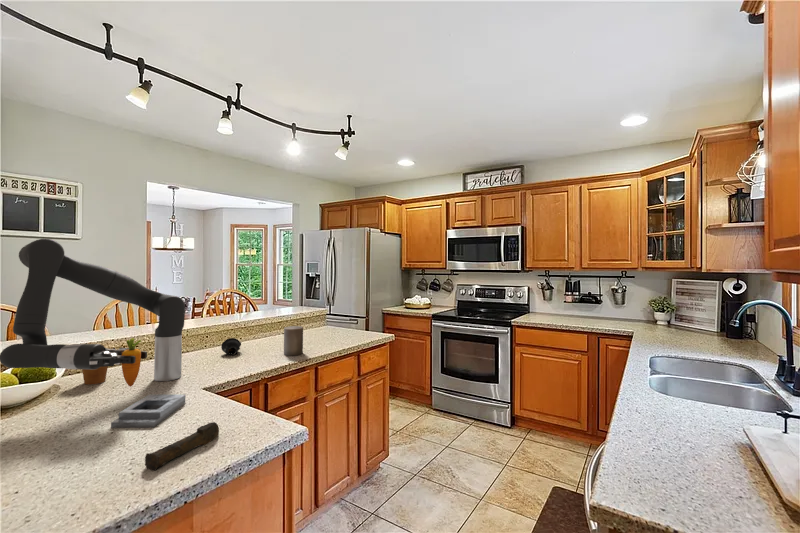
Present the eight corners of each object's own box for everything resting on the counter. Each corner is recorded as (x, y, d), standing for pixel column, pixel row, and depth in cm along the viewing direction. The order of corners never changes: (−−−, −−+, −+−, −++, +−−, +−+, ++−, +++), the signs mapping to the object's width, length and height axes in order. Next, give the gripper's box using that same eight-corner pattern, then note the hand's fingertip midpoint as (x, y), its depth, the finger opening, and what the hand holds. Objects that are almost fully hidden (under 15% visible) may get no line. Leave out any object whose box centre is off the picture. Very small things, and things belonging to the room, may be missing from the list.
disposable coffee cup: (92, 387, 136) (93, 354, 136) (71, 384, 138) (72, 352, 138) (117, 379, 145) (117, 348, 145) (97, 377, 147) (97, 347, 147)
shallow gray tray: (149, 403, 122) (149, 394, 122) (185, 403, 123) (185, 394, 123) (110, 427, 104) (111, 417, 104) (153, 427, 105) (153, 417, 105)
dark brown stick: (154, 474, 83) (154, 453, 83) (143, 469, 85) (143, 449, 85) (225, 438, 101) (226, 421, 100) (215, 435, 102) (215, 418, 102)
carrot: (127, 383, 115) (128, 335, 115) (144, 383, 116) (145, 336, 116) (116, 389, 111) (117, 339, 110) (134, 389, 111) (135, 339, 111)
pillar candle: (306, 353, 194) (307, 324, 194) (292, 356, 186) (292, 327, 186) (294, 350, 199) (294, 322, 199) (279, 354, 191) (279, 325, 191)
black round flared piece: (219, 348, 180) (216, 330, 195) (228, 365, 185) (224, 347, 200) (238, 340, 184) (234, 323, 198) (246, 357, 189) (242, 339, 203)
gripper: (62, 349, 105) (125, 350, 106) (99, 339, 119) (154, 340, 120) (61, 376, 105) (124, 376, 106) (99, 362, 119) (154, 363, 120)
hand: (140, 357), depth 113 cm, fingers closed on carrot, 5 cm apart
